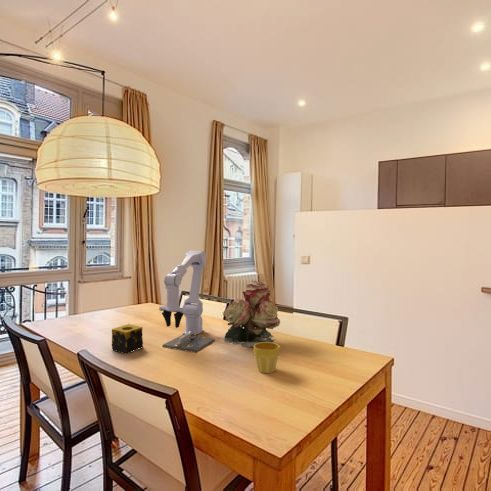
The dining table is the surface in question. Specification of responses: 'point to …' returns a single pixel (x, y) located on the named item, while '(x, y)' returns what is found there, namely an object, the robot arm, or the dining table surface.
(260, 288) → the rose bouquet
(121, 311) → the dining table surface
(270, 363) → the plant pot
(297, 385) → the dining table surface
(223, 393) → the dining table surface
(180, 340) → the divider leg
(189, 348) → the plate
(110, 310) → the dining table surface
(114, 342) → the candle
